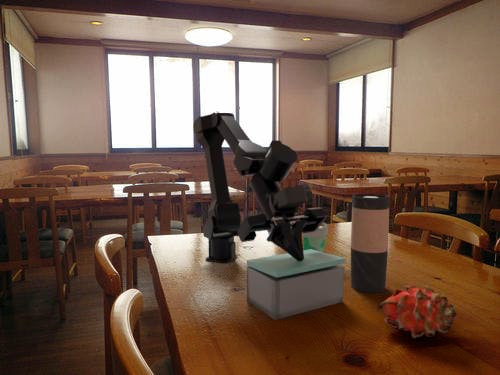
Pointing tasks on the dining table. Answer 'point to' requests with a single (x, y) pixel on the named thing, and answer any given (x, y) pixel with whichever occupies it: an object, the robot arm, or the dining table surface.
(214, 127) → the robot arm
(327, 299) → the grey rectangular box
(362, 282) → the travel mug
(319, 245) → the food container
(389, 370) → the dining table surface
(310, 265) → the mint green lid
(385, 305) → the dragon fruit
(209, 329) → the dining table surface
